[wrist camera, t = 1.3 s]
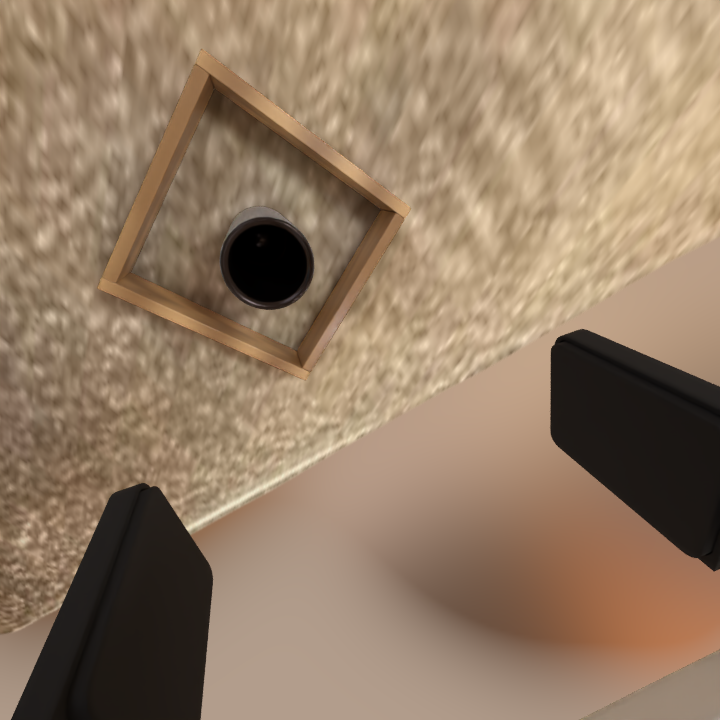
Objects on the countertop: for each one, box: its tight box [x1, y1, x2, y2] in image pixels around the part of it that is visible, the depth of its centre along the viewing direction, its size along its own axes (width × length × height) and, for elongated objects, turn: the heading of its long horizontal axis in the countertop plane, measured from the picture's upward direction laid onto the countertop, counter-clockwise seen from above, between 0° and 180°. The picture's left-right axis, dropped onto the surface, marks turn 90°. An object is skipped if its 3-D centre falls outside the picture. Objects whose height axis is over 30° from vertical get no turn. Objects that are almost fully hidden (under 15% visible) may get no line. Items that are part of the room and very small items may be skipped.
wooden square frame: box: [97, 49, 411, 380], centre depth 26 cm, size 15×15×4 cm
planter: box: [220, 206, 314, 310], centre depth 23 cm, size 4×4×10 cm
